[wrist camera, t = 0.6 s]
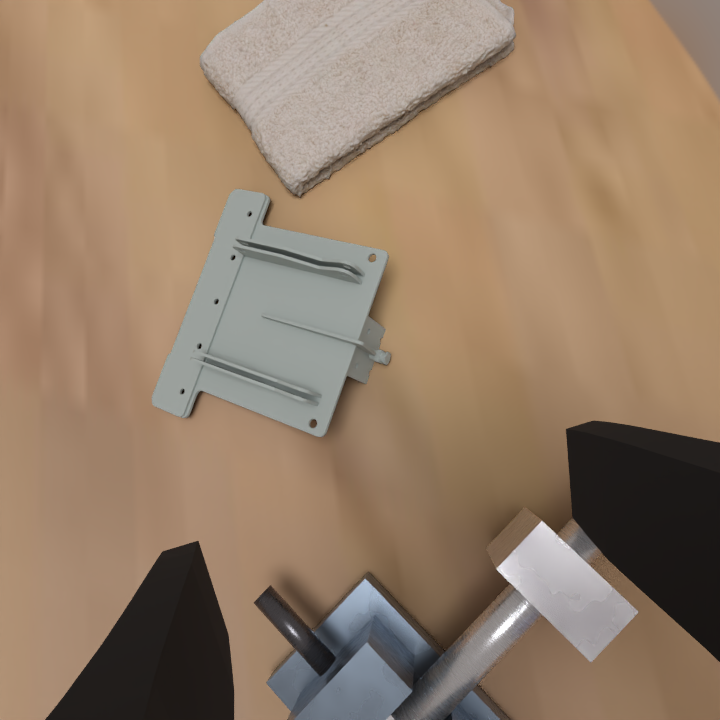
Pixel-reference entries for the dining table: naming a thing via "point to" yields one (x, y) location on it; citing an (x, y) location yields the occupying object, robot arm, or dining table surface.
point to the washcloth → (347, 72)
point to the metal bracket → (275, 321)
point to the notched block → (560, 584)
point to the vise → (397, 655)
